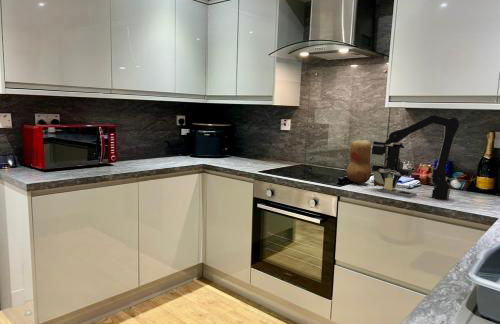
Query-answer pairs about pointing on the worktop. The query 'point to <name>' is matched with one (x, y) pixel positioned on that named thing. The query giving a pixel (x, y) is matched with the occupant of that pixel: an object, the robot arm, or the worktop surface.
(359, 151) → the butternut squash
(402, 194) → the grey slotted board
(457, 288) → the worktop surface
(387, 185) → the light wood beam
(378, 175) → the food container
